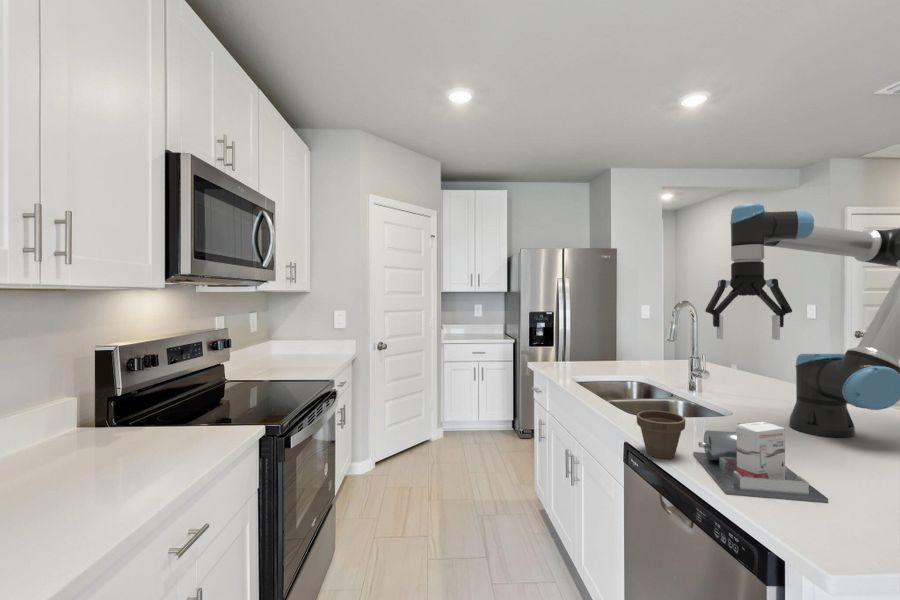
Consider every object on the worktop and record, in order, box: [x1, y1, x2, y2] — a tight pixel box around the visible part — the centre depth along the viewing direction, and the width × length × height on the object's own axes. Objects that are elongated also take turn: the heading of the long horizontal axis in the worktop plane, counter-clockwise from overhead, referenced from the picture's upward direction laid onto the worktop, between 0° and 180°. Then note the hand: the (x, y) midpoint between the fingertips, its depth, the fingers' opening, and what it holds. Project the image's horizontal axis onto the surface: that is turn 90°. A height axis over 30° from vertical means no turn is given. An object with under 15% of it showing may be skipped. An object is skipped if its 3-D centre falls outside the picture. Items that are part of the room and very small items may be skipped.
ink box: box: [735, 421, 786, 480], centre depth 97 cm, size 9×5×12 cm, turn 107°
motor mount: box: [692, 430, 829, 503], centre depth 101 cm, size 18×23×10 cm
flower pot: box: [636, 410, 686, 460], centre depth 115 cm, size 12×11×10 cm
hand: (747, 339), depth 122 cm, fingers open, 13 cm apart
